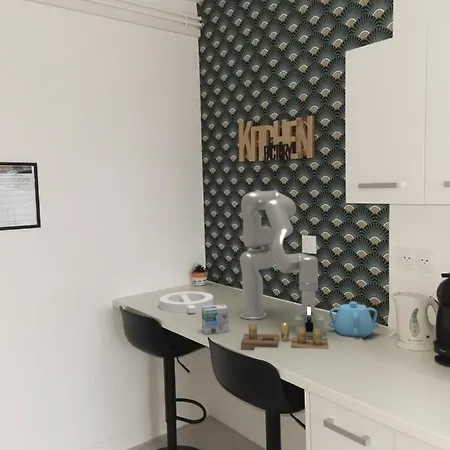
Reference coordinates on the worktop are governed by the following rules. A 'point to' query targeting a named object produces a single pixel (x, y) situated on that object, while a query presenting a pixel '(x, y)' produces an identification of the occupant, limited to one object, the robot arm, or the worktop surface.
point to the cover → (317, 323)
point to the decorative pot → (353, 320)
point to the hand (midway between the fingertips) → (309, 328)
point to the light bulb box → (215, 319)
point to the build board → (258, 339)
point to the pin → (284, 331)
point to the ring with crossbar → (185, 302)
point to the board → (309, 340)
